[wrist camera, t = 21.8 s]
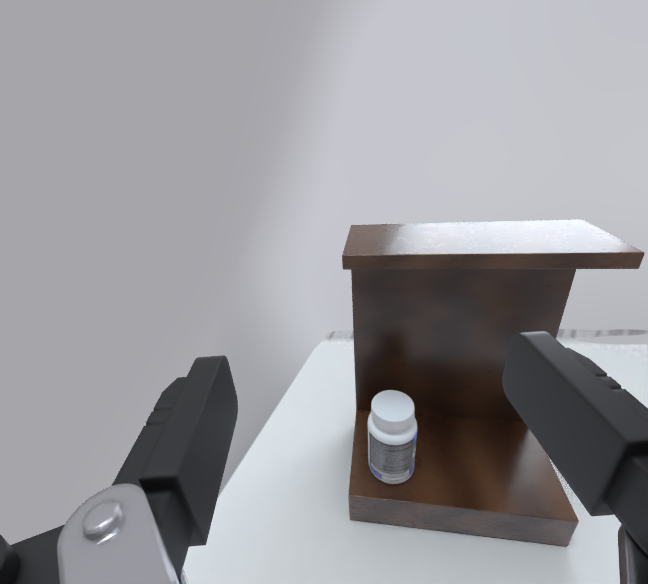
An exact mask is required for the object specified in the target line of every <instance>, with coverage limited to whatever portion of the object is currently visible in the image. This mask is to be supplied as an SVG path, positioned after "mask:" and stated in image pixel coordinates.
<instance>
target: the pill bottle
mask: <svg viewBox="0 0 648 584" xmlns="http://www.w3.org/2000/svg"><path fill="white" fill-rule="evenodd" d="M367 425H368V462H369V467H370V469H371V471H372V473H373V474H374V476H375V477H376V478H378V479H379V480H381V481H383V482H385V483H388V484H399V483H402V482H405V481H406V480H408V479H409V478H410V477H411V475H412V473H413V471H414V466H415V454H416V439H417V421H416V419H415V407H414V403H413V401H412V399H411V398H410V397H409V396H408V395H406V394H405V393H403V392H400V391H396V390H385V391H382V392H380V393H378V394H377V395H375V396H374V398H373V400H372V403H371V413H370V415H369V417H368V422H367Z"/></svg>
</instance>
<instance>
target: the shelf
mask: <svg viewBox="0 0 648 584" xmlns="http://www.w3.org/2000/svg"><path fill="white" fill-rule="evenodd" d="M643 256H644V252H642V251H641V250H639V249H637V248H635V247H633V246H631V245H629V244H627V243H625V242H624V241H622V240H620V239H618V238H616V237H614V236H612V235H610V234H608V233H607V232H605V231H603V230H601V229H599V228H597V227H595V226H593V225H591V224H590V223H588V222H586V221H584V220H545V221H504V222H468V223H467V222H463V223H422V224H382V225H351V228H350V231H349V235H348V238H347V241H346V245H345V248H344V251H343V255H342V262H343V269H351V271H352V272H351V273H352V301H353V328H354V357H355V385H356V420H355V431H354V442H353V453H352V464H351V475H350V486H349V511H350V519H351V520H358V521H366V522H374V523H382V524H390V525H398V526H406V527H414V528H423V529H431V530H439V531H447V532H455V533H463V534H471V535H479V536H487V537H495V538H504V539H512V540H520V541H528V542H536V543H544V544H552V545H560V546H567V545H568V543H569V541H570V539H571V537H572V535H573V533H574V531H575V529H576V526H577V524H578V522H579V521H578V519H577V517H576V515H575V512H574V510H573V508H572V506H571V504H570V502H569V500H568V498H567V496H566V494H565V492H564V490H563V487H562V485H561V483H560V481H559V479H558V477H557V475H556V473H555V471H554V469H553V467H552V465H551V462H550V460H549V458H548V456H547V454H546V452H545V450H544V449H543V448H542V446H541V445H540V443H539V442H538V441H537V439H536V438H535V436H534V435H533V434H532V432H531V431H530V429H529V428H528V426H527V425H526V424H525V422H524V421H523V419H522V418H521V417H520V415H519V414H518V412H517V411H516V410H515V408H514V407H513V405H512V404H511V403H510V401H509V400H508V398H507V396H506V394H505V392H504V389H503V383H502V376H503V371H504V366H505V362H506V357H507V353H508V348H509V344H510V340H511V337H512V336H513V335H514V334H515V333H525V332H537V331H545V332H548V333H549V334H550V335H551V336H553V337H554V338H555V339H556V336H557V333H558V329H559V326H560V323H561V319H562V316H563V312H564V309H565V306H566V302H567V299H568V295H569V291H570V289H571V285H572V282H573V278H574V275H575V272H576V269H638V268H639V266H640V264H641V261H642V259H643ZM385 390H396V391H400V392H403V393H405V394H406V395H408V396H409V397H410V398H411V399H412V401H413V403H414V407H415V419H416V421H417V439H416V454H415V466H414V471H413V473H412V475H411V477H410V478H409V479H408V480H406V481H405V482H402V483H399V484H388V483H385V482H383V481H381V480H379V479H378V478H376V477H375V476H374V474H373V473H372V471H371V469H370V467H369V462H368V425H367V422H368V417H369V415H370V413H371V403H372V400H373V398H374V396H375V395H377V394H378V393H380V392H382V391H385Z"/></svg>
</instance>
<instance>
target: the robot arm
mask: <svg viewBox="0 0 648 584" xmlns="http://www.w3.org/2000/svg"><path fill="white" fill-rule="evenodd" d="M502 383H503V389H504V392H505V394H506V396H507V398H508V400H509V401H510V403H511V404H512V405H513V407H514V408H515V410H516V411H517V412H518V414H519V415H520V417H521V418H522V419H523V421H524V422H525V424H526V425H527V426H528V428H529V429H530V431H531V432H532V434H533V435H534V436H535V438H536V439H537V441H538V442H539V443H540V445H541V446H542V448H543V449H544V450H545V452H546V453H547V455H548V456H549V458H550V459H551V460H552V462H553V463H554V465H555V466H556V467H557V469H558V470H559V472H560V473H561V474H562V476H563V477H564V479H565V480H566V481H567V483H568V484H569V486H570V487H571V489H572V490H573V491H574V493H575V494H576V496H577V497H578V498H579V500H580V501H581V503H582V504H583V505H584V507H585V508H586V510H587V511H588V512H589V514H590V515H591V516H601V515H614V514H615V516H616V517H617V518H618V520H619V521H620V522H621V524H622V525H621V527H620V528H619V531H618V548H619V569H620V584H648V408H646V407H645V406H644V405H643V404H642V403H641V402H639V401H638V400H637V399H636V398H635V397H634V396H632V395H631V394H630V393H629V392H628V391H627V390H625V389H622V388H621V385H619V384H618V383H617V382H616V381H615V380H614V379H612V378H611V377H608V376H607V373H605V372H604V371H603V370H602V369H601V368H600V367H598V366H597V365H596V364H595V363H594V362H593V361H591V360H590V359H589V358H587V357H585V356H583V355H581V354H579V353H577V352H575V351H573V350H571V349H570V348H565V347H564V346H563V345H562V344H560V343H559V342H558V341H557V340H556V339H555V338H554V337H553V336H551V335H550V334H549V333H548V332H545V331H537V332H525V333H515V334H514V335H513V336H512V337H511V340H510V344H509V348H508V353H507V357H506V362H505V366H504V371H503V376H502ZM237 413H238V401H237V395H236V391H235V387H234V383H233V379H232V375H231V371H230V367H229V363H228V360H227V358H226V356H211V357H199V358H196V360H195V361H194V363H193V365H192V367H191V370H190V372H189V373H188V375H187V377H182V378H177V379H176V380H175V381H174V382H173V383H172V384H171V385H170V386H168V387H167V388H166V389H165V390H164V391H163V392H162V394H161V396H160V398H159V400H158V402H157V403H156V405H155V407H154V411H153V412H151V414H150V416H149V418H148V420H147V422H146V426H144V427H143V429H142V431H141V433H140V435H139V436H138V438H137V440H136V442H135V444H134V446H133V447H132V449H131V451H130V453H129V455H128V457H127V458H126V460H125V462H124V464H123V466H122V468H121V470H120V471H119V473H118V475H117V477H116V479H115V481H114V483H113V484H112V486H111V487H109V488H106V489H104V490H102V491H100V492H98V493H96V494H95V495H93V496H92V497H90V498H89V499H88V500H86V501H85V502H84V503H83V504H82V505H81V506H80V507H79V508H77V510H76V511H75V512H74V513H73V514H72V515H71V517H70V518H69V519H68V521H67V522H66V524H65V525H62V526H60V527H57V528H55V529H52V530H50V531H47V532H45V533H42V534H39V535H36V536H34V537H31V538H29V539H26V540H23V541H21V542H18V543H15V544H13V545H9V544H8V543H7V542H6V541H5V539H4V538H3V537H2V536H1V535H0V584H189V583H188V581H187V578H186V575H185V573H184V570H183V565H184V561H185V558H186V554H187V551H188V547H189V546H200V545H206V542H207V538H208V534H209V530H210V526H211V522H212V518H213V514H214V510H215V505H216V501H217V497H218V493H219V489H220V485H221V481H222V477H223V473H224V468H225V464H226V461H227V456H228V452H229V448H230V444H231V440H232V436H233V432H234V428H235V424H236V420H237Z"/></svg>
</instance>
